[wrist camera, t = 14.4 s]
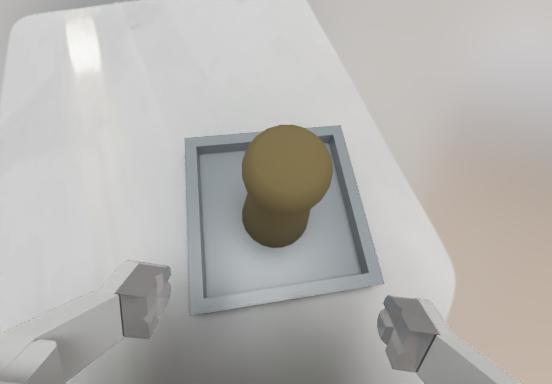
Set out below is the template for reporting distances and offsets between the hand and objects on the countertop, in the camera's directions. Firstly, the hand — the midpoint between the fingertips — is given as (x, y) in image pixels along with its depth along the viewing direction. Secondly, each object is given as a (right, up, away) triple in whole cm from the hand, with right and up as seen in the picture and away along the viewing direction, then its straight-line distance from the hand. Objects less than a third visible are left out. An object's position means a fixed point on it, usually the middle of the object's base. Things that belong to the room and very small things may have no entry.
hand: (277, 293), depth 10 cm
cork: (0, +2, +14) cm, 14 cm away
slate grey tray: (0, +2, +15) cm, 15 cm away
